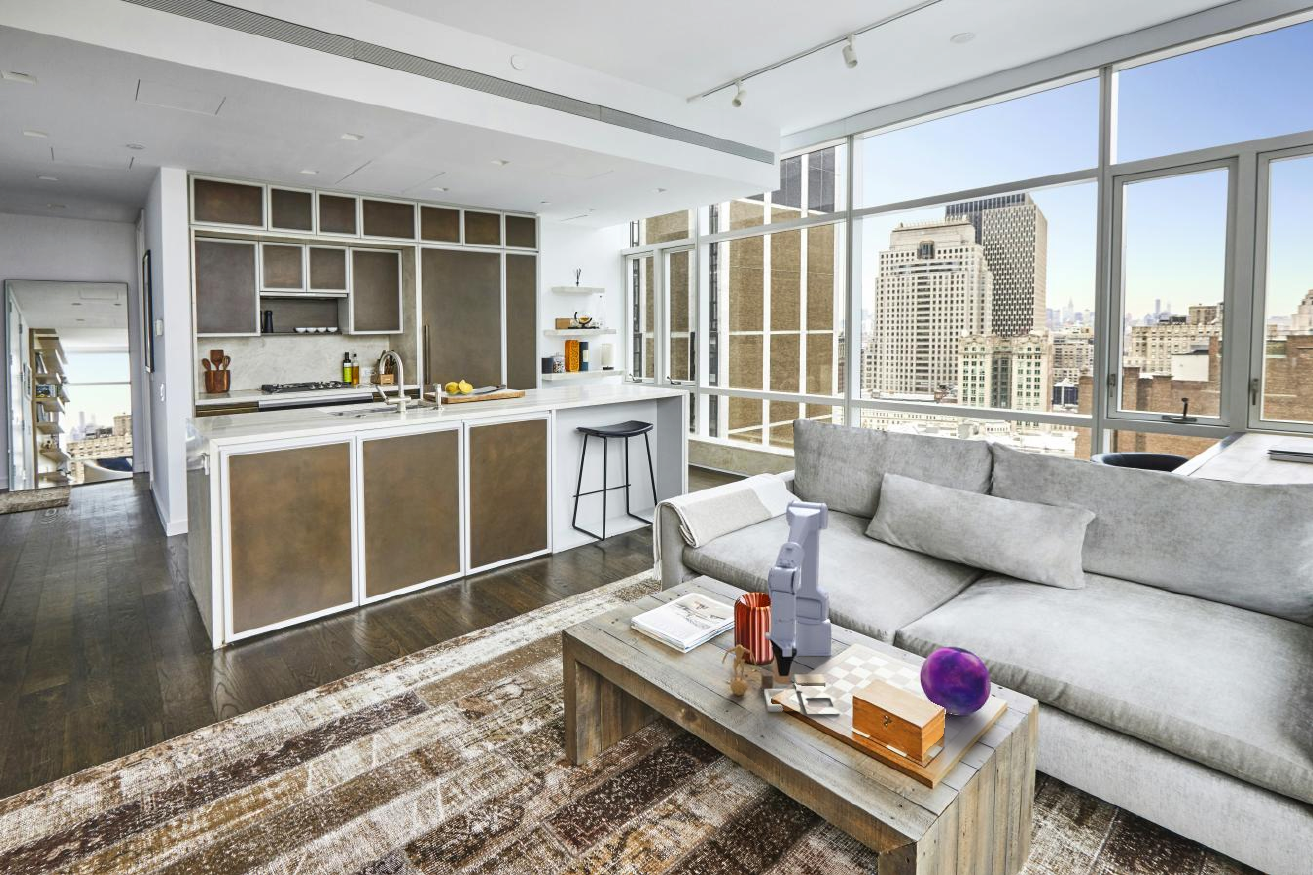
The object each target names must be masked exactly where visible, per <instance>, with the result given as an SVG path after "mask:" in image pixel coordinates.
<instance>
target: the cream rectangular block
mask: <svg viewBox="0 0 1313 875" xmlns="http://www.w3.org/2000/svg"><path fill="white" fill-rule="evenodd" d="M793 678H794V679H793V684H794V683H796V684H797V685H801V686H824V687H825V686H826V685H827V684H826V683H827V681H826V680H825V678H824V675H823V674H821V673H820V674H817V673H816V674H814V673H813V674H808V673H807V674H803V673H802V674H799V673H798V674H793Z"/></svg>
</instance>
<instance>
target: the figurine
mask: <svg viewBox="0 0 1313 875" xmlns="http://www.w3.org/2000/svg"><path fill="white" fill-rule="evenodd" d="M732 652H734V655H735V657H736V658H734V659H733V669H734V673H735V675H734V679H733V680H732V681H731V683H730V689H731V690H730V691H731V692H732V693H733V694H734V695H736V696H742V695H744V694H746V692H747V690H748V684H747V682H746V680H744V672H745V668H746V667H745V662H746V660H745V658H743V656H744V653H748V654H750V656H751V658H752V660H753V661H754V662H753V664H754V666H757V661H756V659H755V657H754V653H753V652H752V651H751V650H749V649H747V648H745V647H743V645H742V644H736V646H734V647H732V648H730V649H728V650H726V652H725V654H724V656H723V659H722V661H721V664H722V665H724V663H725V661H726V659H727V656H728V654H729V653H732ZM739 666H740V668H741V670H740V672H741V673H740V677H738V667H739Z"/></svg>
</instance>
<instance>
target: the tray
mask: <svg viewBox="0 0 1313 875" xmlns="http://www.w3.org/2000/svg"><path fill="white" fill-rule="evenodd" d="M785 689H786V688H773V689H764V691H763V695H764V700H765V704H766V708H767V712H768V713H769V712H770V713H772V712H773V713H782V711H783V708H782V707H783V706H782V705H781V704H772V703H771V698H772V697H773V696H774V695H776V694H778V693H781V692H783V691H784V690H785Z"/></svg>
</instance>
